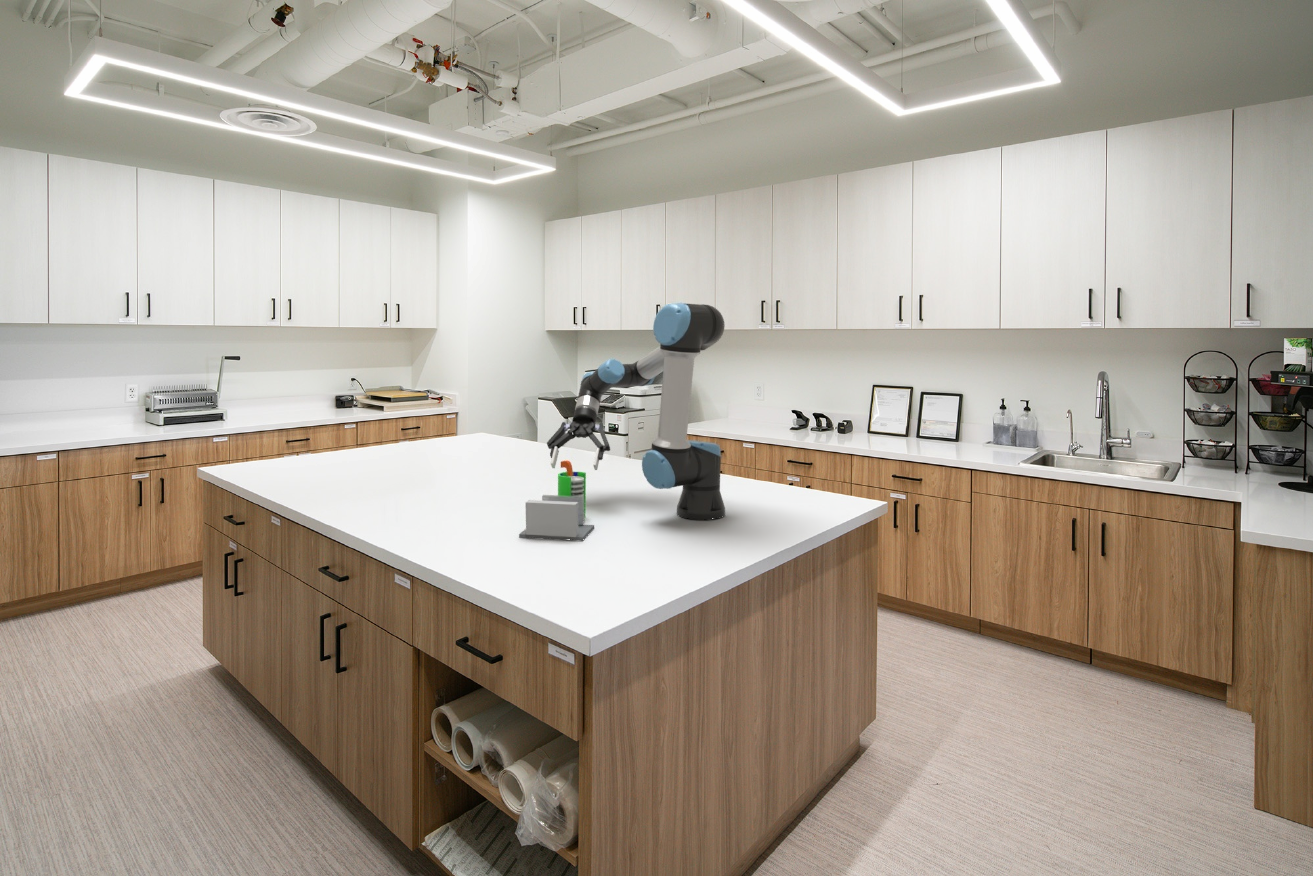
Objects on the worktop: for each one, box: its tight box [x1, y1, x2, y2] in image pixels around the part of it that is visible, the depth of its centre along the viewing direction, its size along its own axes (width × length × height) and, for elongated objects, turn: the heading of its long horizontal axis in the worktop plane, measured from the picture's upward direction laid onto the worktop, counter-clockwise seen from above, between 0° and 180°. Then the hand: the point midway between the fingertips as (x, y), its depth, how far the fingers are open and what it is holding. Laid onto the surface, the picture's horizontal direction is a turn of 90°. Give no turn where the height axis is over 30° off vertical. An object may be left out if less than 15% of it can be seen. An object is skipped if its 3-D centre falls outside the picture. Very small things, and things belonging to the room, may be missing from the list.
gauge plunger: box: [541, 494, 585, 525], centre depth 202 cm, size 15×4×8 cm, turn 82°
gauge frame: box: [518, 499, 595, 542], centre depth 197 cm, size 18×13×10 cm
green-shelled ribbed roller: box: [557, 460, 587, 521], centre depth 211 cm, size 9×8×18 cm
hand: (573, 466), depth 217 cm, fingers open, 13 cm apart
